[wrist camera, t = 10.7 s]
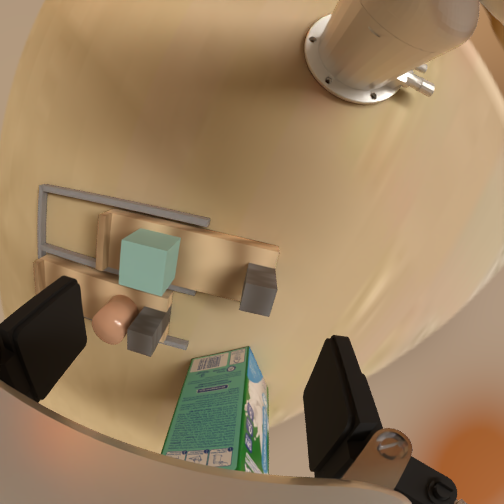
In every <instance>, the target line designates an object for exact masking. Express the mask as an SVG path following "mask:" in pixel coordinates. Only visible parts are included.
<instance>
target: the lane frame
mask: <svg viewBox="0 0 504 504" xmlns="http://www.w3.org/2000/svg"><path fill="white" fill-rule="evenodd" d="M48 192H50V193H55V194H59V195H64V196H69V197H74V198H78V199H83V200H88V201H92V202H97V203H102V204H106V205H111V206H115V207H120V208H125V209H129V210H134V211H138V212H143V213H147V214H152V215H156V216H160V217H165V218H169V219H174V220H178V221H183V222H187V223H191V224H196V225H200V226H204V227H208V225H209V222H210V218H207V217H202V216H198V215H193V214H189V213H184V212H180V211H175V210H171V209H166V208H162V207H157V206H152V205H148V204H143V203H138V202H134V201H129V200H124V199H119V198H114V197H110V196H105V195H100V194H95V193H90V192H85V191H80V190H75V189H70V188H64V187H59V186H54V185H49V184H43V185H39V200H38V259H39V258H41V257H43V256H45V255H46V252H48V253H51V254H54V255H57V256H60V257H63V258H66V259H69V260H72V261H75V262H78V263H81V264H84V265H87V266H90V267H94V268H96V258H92V257H89V256H86V255H83V254H79V253H76V252H73V251H70V250H66V249H63V248H60V247H57V246H54V245H51V244H48V243H46V210H47V193H48ZM103 271H107V272H110V273H113V274H117V275H119V270H117V269H114V268H111V267H107V268H106V269H105V270H103ZM167 289H170V290H174V291H177V292H181V293H185V294H189V295H193V296H195V294H196V292H197V291H195V290H191V289H187V288H183V287H179V286H175V285H172V284H170V285H169V287H168V288H167ZM84 318H87V317H84ZM87 319H89V320H92V319H90V318H87ZM159 343H162V342H159ZM162 344H165V345H169V346H172V347H176V348H179V349H183V350H186V349H187V346H188V341H186V340H182V339H179V338H175V337H171V336H168V335H167V337H166V339H165V341H164V343H162Z"/></svg>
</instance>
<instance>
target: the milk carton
mask: <svg viewBox="0 0 504 504" xmlns="http://www.w3.org/2000/svg"><path fill="white" fill-rule="evenodd" d="M161 454H162V455H166V456H169V457H173V458H177V459H181V460H185V461H189V462H193V463H198V464H203V465H208V466H213V467H218V468H224V469H230V470H236V471H243V472H251V473H259V474H268V475H269V409H268V387H267V385H266V383H265V380H264V378H263V376H262V374H261V371H260V369H259V367H258V365H257V362H256V360H255V358H254V356H253V353H252V351H251V349H250V347H245V348H241V349H236V350H232V351H228V352H223V353H219V354H214V355H209V356H204V357H199V358H194V359H192V360H191V363H190V366H189V369H188V372H187V375H186V378H185V381H184V384H183V387H182V390H181V393H180V396H179V399H178V402H177V405H176V408H175V411H174V414H173V417H172V420H171V423H170V427H169V430H168V433H167V436H166V439H165V442H164V445H163V449H162V452H161Z"/></svg>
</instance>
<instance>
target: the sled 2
mask: <svg viewBox="0 0 504 504" xmlns="http://www.w3.org/2000/svg"><path fill="white" fill-rule="evenodd" d="M140 228H142V229H146V230H151V231H155V232H159V233H163V234H167V235H172V236H176V237H180V238H181V240H180V246H179V253H178V259H177V266H176V273H175V278H174V280H173V281H172V283H171V284H172V285H175V286H179V287H183V288H187V289H191V290H195V291H199V292H203V293H207V294H211V295H215V296H219V297H223V298H228V299H232V300H236V301H241V302H240V308H239V310H241V311H245V312H250V313H254V314H259V315H263V316H268V317H269V316H270V312H271V309H272V306H273V303H274V299H275V296H276V293H277V282H276V273H275V267H276V264H277V260H278V257H279V253H280V252H279V246H275V245H271V244H267V243H263V242H258V241H254V240H250V239H246V238H241V237H237V236H233V235H229V234H224V233H220V232H216V231H212V230H207V229H203V228H199V227H194V226H190V225H186V224H181V223H177V222H173V221H168V220H164V219H159V218H155V217H151V216H146V215H142V214H137V213H133V212H128V211H124V210H119V209H115V208H114V209H112V210H109V211H106V212H104V213H101V214H99V217H98V229H97V245H96V270H100V271H103V270H105V269H106V268H107V267H111V268H114V269H117V270H119V268H120V253H121V241H122V239H123V238H125V237H127V236H128V235H130V234H132V233H133V232H135V231H137V230H138V229H140Z"/></svg>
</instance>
